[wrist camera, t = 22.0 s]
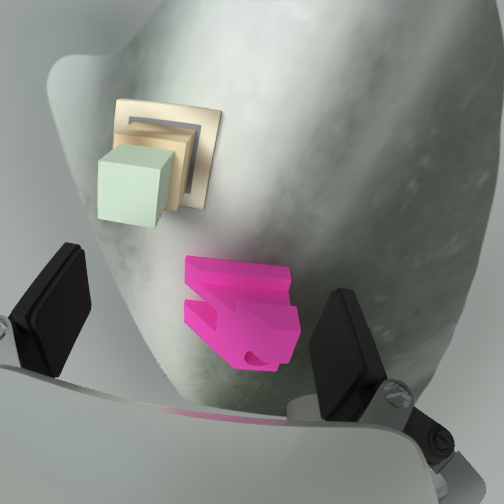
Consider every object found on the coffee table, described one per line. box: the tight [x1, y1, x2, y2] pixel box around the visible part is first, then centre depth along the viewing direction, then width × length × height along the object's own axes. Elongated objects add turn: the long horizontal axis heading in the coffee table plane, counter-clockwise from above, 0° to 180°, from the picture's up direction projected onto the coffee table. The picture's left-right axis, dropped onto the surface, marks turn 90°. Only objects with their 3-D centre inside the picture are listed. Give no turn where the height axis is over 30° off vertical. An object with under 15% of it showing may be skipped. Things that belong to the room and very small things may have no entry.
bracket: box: [184, 256, 301, 371], centre depth 35 cm, size 12×10×10 cm
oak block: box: [113, 122, 196, 211], centre depth 26 cm, size 6×6×5 cm
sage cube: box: [98, 143, 175, 229], centre depth 22 cm, size 4×4×4 cm
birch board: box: [112, 99, 221, 209], centre depth 29 cm, size 10×10×1 cm
